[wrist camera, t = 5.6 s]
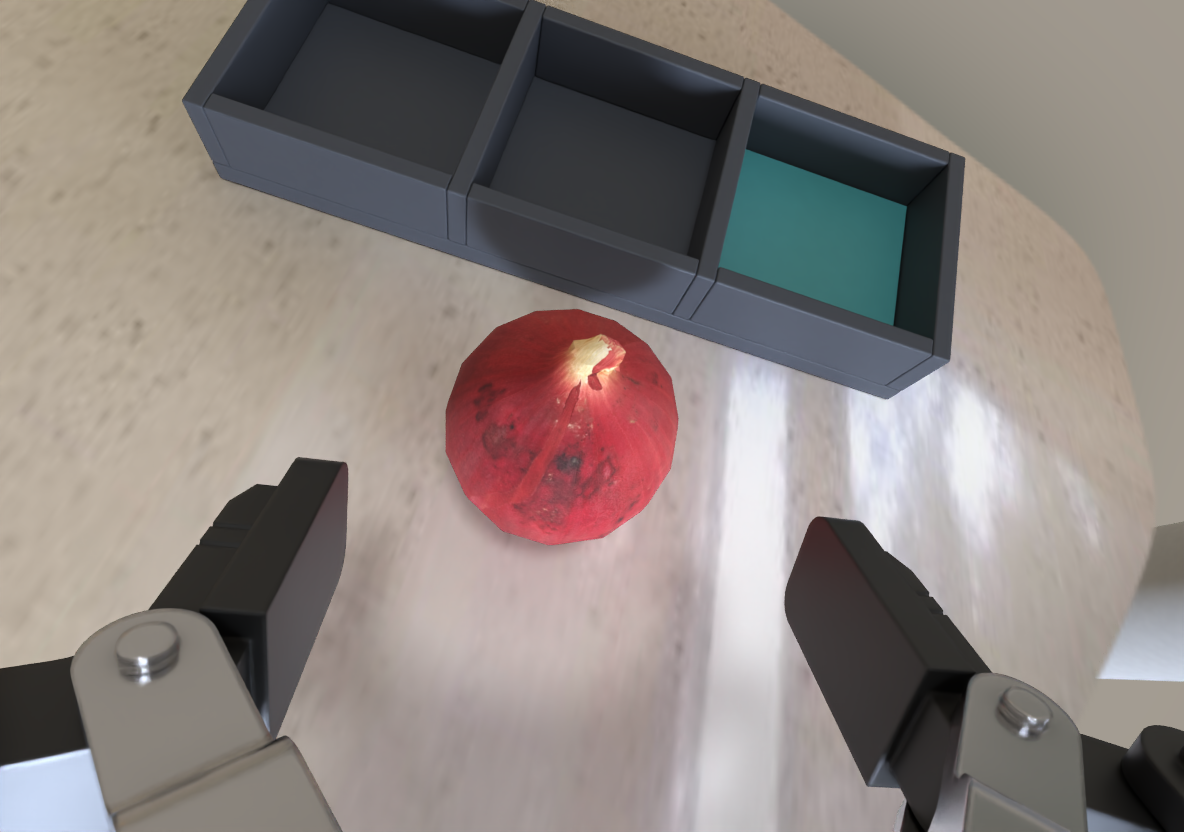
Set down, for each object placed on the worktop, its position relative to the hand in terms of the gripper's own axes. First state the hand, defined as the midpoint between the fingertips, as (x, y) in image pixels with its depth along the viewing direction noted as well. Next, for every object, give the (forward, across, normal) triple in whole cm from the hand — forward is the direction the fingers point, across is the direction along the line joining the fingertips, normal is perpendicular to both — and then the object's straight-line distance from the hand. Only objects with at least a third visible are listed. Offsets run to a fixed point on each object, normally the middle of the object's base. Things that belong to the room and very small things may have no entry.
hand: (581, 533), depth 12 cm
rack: (+15, -1, -4) cm, 16 cm away
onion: (+8, 0, +4) cm, 9 cm away
